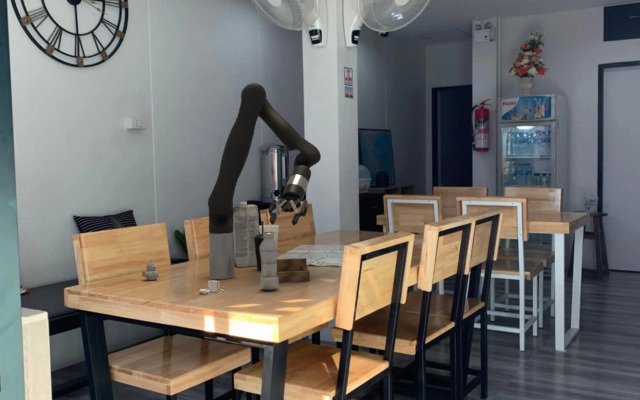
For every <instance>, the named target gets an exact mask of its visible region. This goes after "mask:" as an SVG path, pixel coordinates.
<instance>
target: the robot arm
mask: <svg viewBox="0 0 640 400" xmlns="http://www.w3.org/2000/svg"><path fill="white" fill-rule="evenodd" d="M259 118H260V119H261V120H262V121H263V122H264V123H265V124H266V125H267V127H269V129H270V130H271V131H272V132H273V134H274V135H275V136H276V138H278V139H279V141H280V142H281V143H282V144H283V146H285V148H286V149H287V150H288V151H291V152H292V151H296V150H297V151H298V152H299V153H297V154H296V156H295V158H294V161H293V170H292V173H291V175H290V177H289V179H288V181H287V184H286V186H285V188H284V191H283V194H282V198H281V199H280V200H277V199H275V198H274V199H272V202H271V203H270V205H269V207H268V209H267V211H268V214H269V216H270V217H269V222H270V225H275V223H276V220H277V218H278V216H280V215H282V214H284V213H293V212H294V214H293V217H292V220H291V224H292V225H293V226H296V225H297V224H298V222H299V219H300V218H301V217H305V216H306V215H307V212H308V209H309V202H308V200H307V199H304V197H305V195H306V192H307V189H308V185H309V182H310V181H311V180H310V179H311V177H312V171H311V168H312V167H313V166H316V165H317V164H318V163H319V162H320V161H321V156H322V155H321V152H320V150H319V148H317V146H315V145H314V144H313V143H312V142H310V141H308V140H307V139H306V138H303V136H302V135H300V133H299V132H298V131H297V130H296V129H295V128H294V126H293V125H292V124H291V123H290V122H288V120H286V118H284V117H283V116H282V115H281V114H280V113H279V112H278V111H277V110H276V109H275V108H274V107H273V106H272V105H271V103H270V101H269V100H268V99H267V91H266V89H265V88H264V86H263V85H262V84H261V83H257V82H251V83H249V84H247V85H245V86H244V87H243V88H242V89H241V92H240V105H239V109H238V112H237V116H236V119H235V121H234V123H233V126H232V128H231V129H230V132H229V134H228V137H227V139H226V142H225V145H224V149H223V151H222V155H221V161H220V165H219V171H218V176H217V179H216V182H215V184H214V186H213V190H212V191H211V194H210V195H209V197H208V198H207V207H208V239H209V240H208V241H209V247H208V248H209V253H208V256H209V257H208V260H209V261H208V263H209V264H208V265H209V266H208V267H209V279H212V280H213V279H214V280H227V279H232V278H235V272H236V271H235V264H234V233H233V205H234V196H235V191H236V187H237V184H238V180H239V178H240V176H241V175H242V171H243V170H244V167H245V165H246V162H247V160H248V157H249V154H250V149H251V146H252V142H253V140H254V136H255V135H254V134H255V129H256V123H257V121H258V119H259ZM299 208H300V210H298V209H299Z"/></svg>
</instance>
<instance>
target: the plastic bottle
mask: <svg viewBox="0 0 640 400" xmlns="http://www.w3.org/2000/svg"><path fill="white" fill-rule="evenodd" d="M263 238H264V240H263V241H262V243H261V245H260V256H261V263H262V264H261V271H260V278H259V279H260V280H259V285H260V288H261V290H263V291H265V290H266V291H274V290H277V289H278V288H279V285H280V282H279V278H278V273H277V259H278V253H279V245H278V242H277V243H276V242H275V240H274V232H263Z"/></svg>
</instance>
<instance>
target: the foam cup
mask: <svg viewBox="0 0 640 400" xmlns="http://www.w3.org/2000/svg"><path fill="white" fill-rule="evenodd" d="M263 226H264V232H274V240H275V242H276V243H277V244H278V241H279V240H278V238H279V231H280V229H279V227H280V226H279V225H277V224H274V225H272V224H263ZM259 234H262V225H259Z"/></svg>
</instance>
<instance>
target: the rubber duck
mask: <svg viewBox="0 0 640 400" xmlns="http://www.w3.org/2000/svg"><path fill="white" fill-rule="evenodd" d="M140 271H141V274H142V278H144V279H146V280H147V281H155V280H157V279H158V277H159V275H160V274H159V272H158V270H157V266H156V265H155V262H154V261H153V260H152V259H151V260H150V261H149V262H148V263H147V265H146V269H142V270H140Z"/></svg>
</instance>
